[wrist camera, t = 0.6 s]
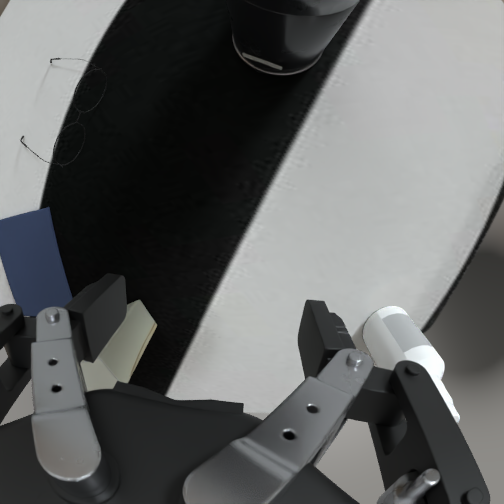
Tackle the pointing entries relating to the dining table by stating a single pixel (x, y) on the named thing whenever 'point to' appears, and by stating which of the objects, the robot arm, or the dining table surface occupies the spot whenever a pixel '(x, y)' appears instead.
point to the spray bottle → (403, 346)
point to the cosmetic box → (121, 350)
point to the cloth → (33, 262)
